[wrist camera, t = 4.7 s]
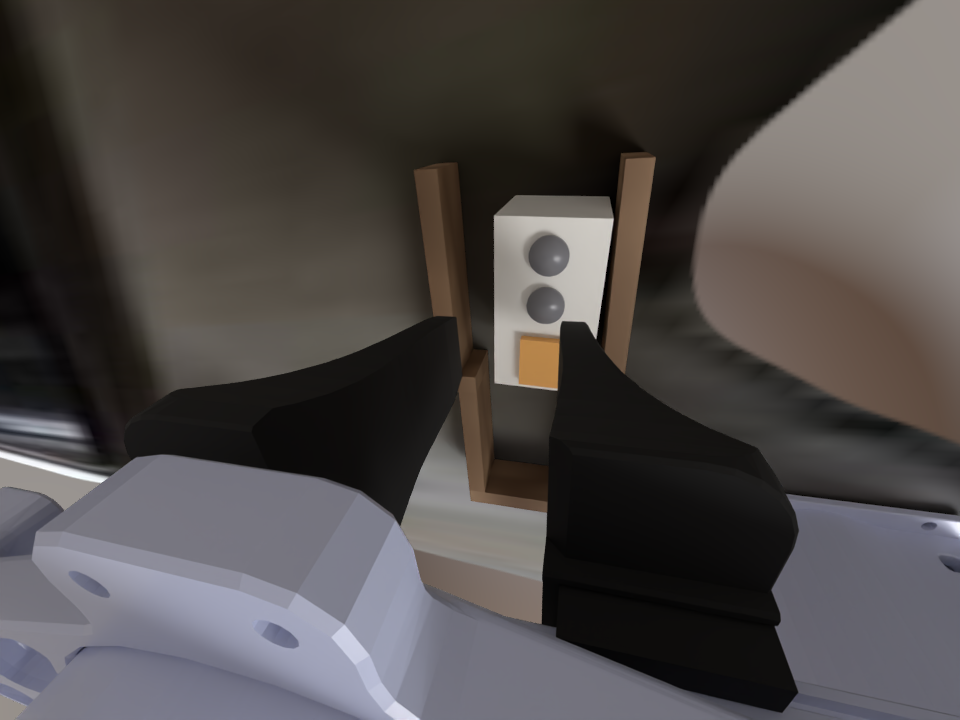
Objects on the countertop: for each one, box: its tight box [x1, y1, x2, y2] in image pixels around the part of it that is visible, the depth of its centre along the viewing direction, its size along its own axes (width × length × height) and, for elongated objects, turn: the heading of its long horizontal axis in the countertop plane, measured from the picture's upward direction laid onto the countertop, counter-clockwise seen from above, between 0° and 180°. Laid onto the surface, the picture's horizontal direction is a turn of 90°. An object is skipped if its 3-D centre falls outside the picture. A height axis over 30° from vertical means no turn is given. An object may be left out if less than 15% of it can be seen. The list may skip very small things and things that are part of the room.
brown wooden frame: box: [414, 152, 656, 513], centre depth 17 cm, size 7×16×2 cm, turn 4°
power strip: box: [494, 195, 614, 391], centre depth 14 cm, size 3×6×4 cm, turn 2°
